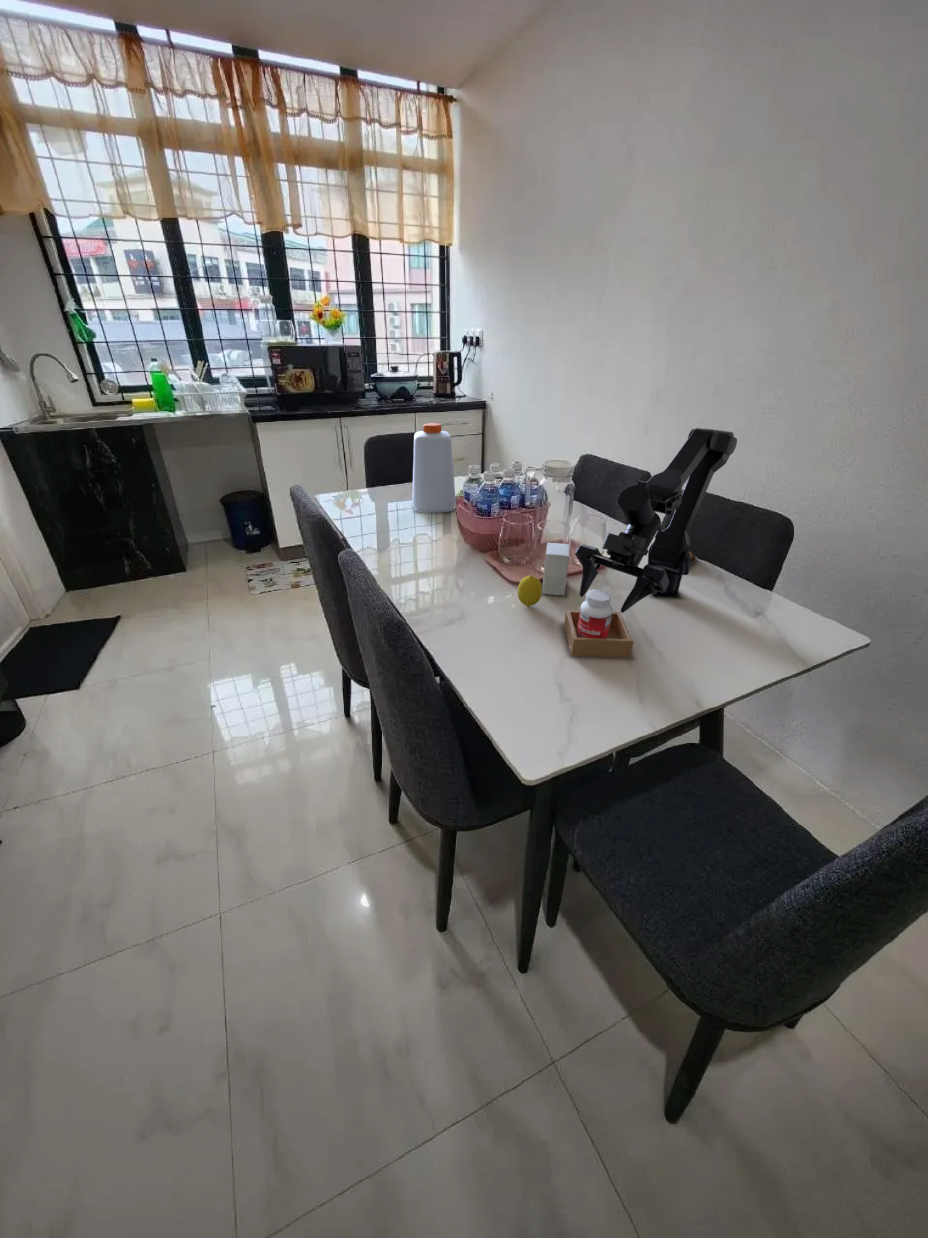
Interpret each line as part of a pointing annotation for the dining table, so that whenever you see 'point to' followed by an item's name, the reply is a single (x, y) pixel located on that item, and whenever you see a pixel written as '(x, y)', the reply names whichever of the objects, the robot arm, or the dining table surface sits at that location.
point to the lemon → (529, 590)
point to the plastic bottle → (433, 470)
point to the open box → (611, 646)
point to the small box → (556, 568)
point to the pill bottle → (595, 615)
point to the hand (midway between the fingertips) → (600, 603)
